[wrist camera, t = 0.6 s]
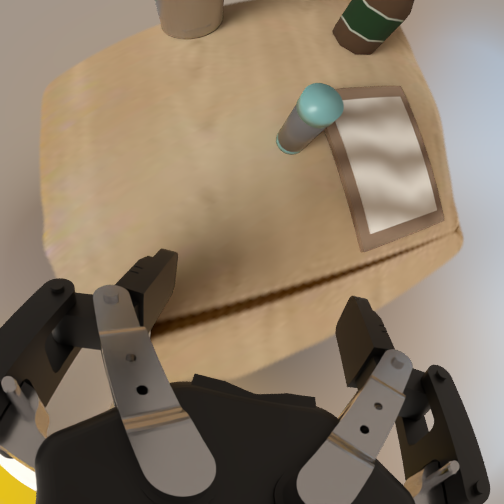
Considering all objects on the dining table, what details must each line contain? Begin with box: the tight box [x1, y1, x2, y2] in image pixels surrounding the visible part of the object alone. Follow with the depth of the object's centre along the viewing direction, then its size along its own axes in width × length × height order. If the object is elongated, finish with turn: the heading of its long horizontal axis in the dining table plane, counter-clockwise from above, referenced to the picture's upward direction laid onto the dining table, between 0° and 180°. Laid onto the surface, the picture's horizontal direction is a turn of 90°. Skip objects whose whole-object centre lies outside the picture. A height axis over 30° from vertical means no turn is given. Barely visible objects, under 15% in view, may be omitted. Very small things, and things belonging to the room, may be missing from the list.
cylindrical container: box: [0, 330, 151, 491], centre depth 20 cm, size 7×7×25 cm
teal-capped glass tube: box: [276, 83, 344, 155], centre depth 27 cm, size 4×4×12 cm
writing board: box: [324, 86, 444, 252], centre depth 33 cm, size 22×16×1 cm
